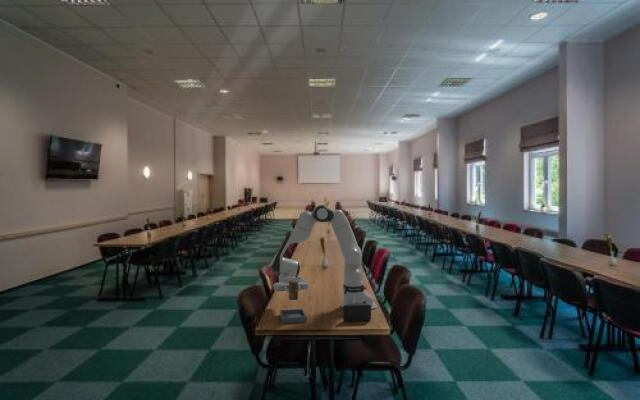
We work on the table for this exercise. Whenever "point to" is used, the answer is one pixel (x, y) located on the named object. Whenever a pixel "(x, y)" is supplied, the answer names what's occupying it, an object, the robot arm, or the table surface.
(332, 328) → the table surface
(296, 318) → the tray
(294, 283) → the walnut block
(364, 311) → the blue scroll wheel mouse
